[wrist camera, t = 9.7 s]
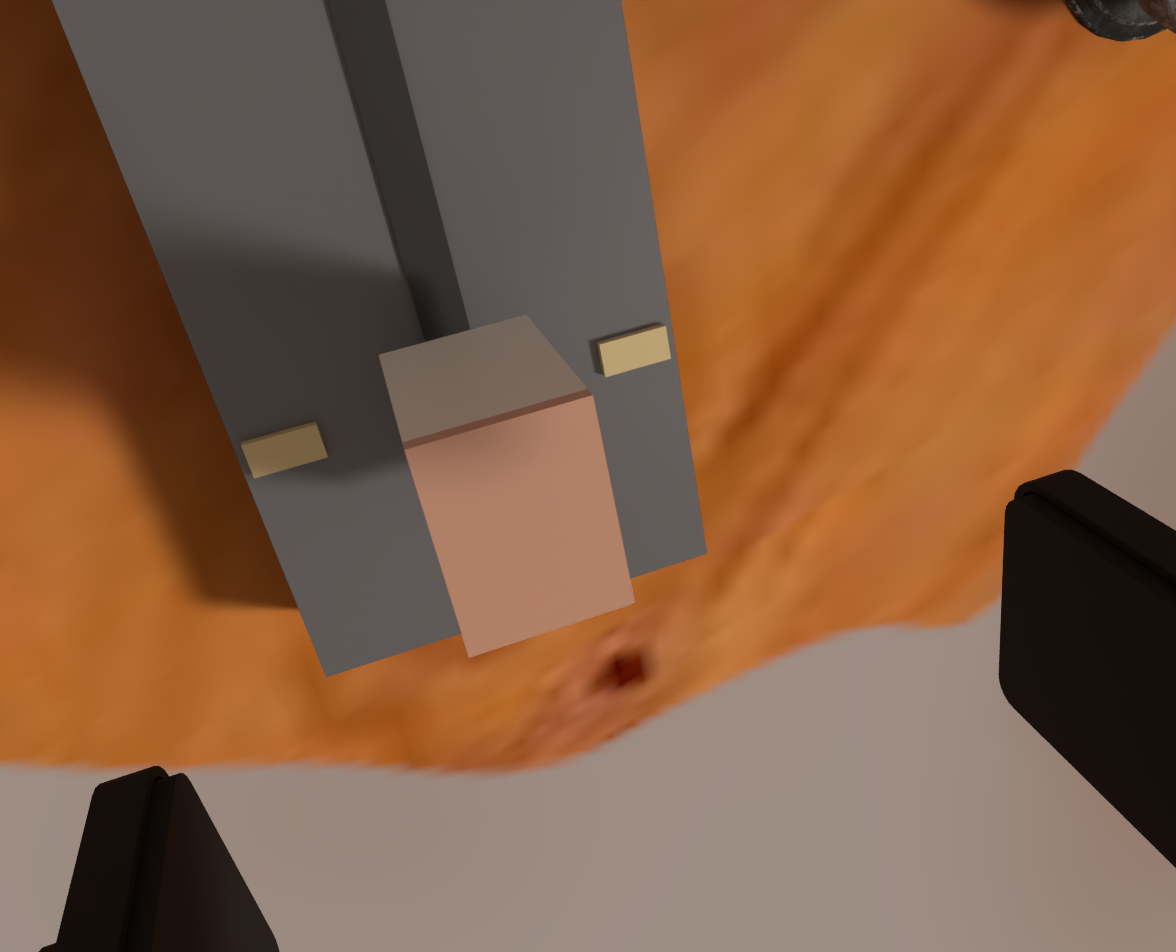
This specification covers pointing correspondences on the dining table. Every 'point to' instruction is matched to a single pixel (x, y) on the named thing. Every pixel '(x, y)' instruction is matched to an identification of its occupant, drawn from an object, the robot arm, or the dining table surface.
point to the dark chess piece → (1125, 17)
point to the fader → (509, 481)
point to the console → (393, 256)
